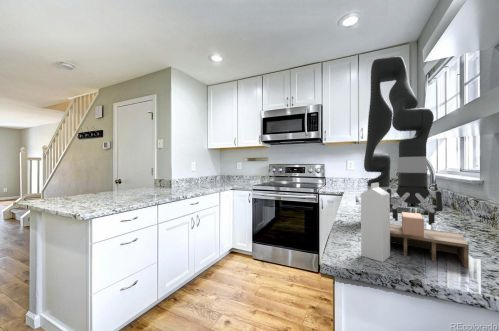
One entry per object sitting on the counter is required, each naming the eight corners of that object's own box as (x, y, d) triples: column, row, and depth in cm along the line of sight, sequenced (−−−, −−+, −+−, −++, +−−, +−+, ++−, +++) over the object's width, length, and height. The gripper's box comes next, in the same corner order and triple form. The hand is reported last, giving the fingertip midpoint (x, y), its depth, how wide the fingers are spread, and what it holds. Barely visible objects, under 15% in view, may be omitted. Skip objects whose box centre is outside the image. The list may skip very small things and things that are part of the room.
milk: (361, 256, 66) (359, 183, 66) (369, 250, 70) (367, 181, 70) (383, 262, 61) (382, 184, 61) (390, 256, 65) (389, 182, 65)
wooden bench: (382, 240, 79) (382, 223, 79) (460, 253, 67) (460, 233, 67) (378, 250, 70) (378, 231, 70) (468, 268, 57) (468, 244, 57)
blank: (401, 226, 75) (401, 211, 75) (420, 228, 72) (420, 213, 72) (403, 234, 67) (403, 217, 67) (424, 236, 64) (423, 219, 64)
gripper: (440, 171, 68) (440, 223, 68) (386, 170, 76) (387, 217, 76) (443, 171, 62) (443, 228, 62) (384, 171, 70) (385, 221, 70)
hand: (412, 222), depth 69 cm, fingers open, 8 cm apart
